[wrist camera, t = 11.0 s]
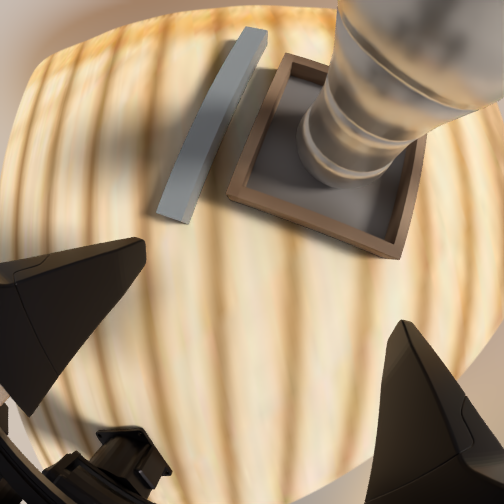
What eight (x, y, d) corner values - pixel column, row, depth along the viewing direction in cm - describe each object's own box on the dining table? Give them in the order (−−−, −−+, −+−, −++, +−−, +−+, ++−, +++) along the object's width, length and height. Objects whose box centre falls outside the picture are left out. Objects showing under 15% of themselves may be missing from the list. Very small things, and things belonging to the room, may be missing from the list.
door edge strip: (188, 224, 20) (180, 221, 18) (165, 216, 20) (155, 212, 18) (267, 44, 20) (267, 30, 18) (246, 39, 20) (245, 26, 18)
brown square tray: (385, 258, 20) (399, 259, 17) (230, 200, 20) (225, 193, 18) (416, 124, 19) (429, 113, 17) (283, 69, 20) (285, 52, 17)
